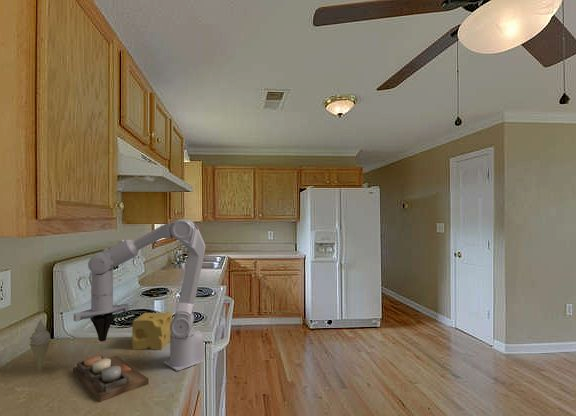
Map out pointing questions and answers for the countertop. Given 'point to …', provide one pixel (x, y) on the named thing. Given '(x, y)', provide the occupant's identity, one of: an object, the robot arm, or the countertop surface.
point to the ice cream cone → (40, 344)
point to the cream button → (101, 365)
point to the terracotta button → (91, 360)
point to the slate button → (111, 373)
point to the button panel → (110, 388)
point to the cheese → (151, 331)
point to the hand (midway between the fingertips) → (102, 340)
